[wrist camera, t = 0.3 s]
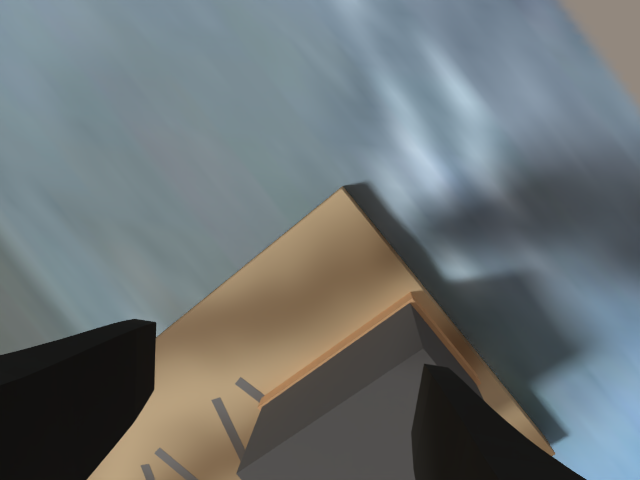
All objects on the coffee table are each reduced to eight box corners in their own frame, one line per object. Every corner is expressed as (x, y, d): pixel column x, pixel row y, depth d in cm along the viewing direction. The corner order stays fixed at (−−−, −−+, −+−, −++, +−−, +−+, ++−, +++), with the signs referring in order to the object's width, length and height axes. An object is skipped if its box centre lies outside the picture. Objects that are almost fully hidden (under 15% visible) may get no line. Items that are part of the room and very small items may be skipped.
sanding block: (476, 373, 20) (514, 450, 15) (325, 469, 21) (314, 564, 17) (410, 291, 19) (426, 342, 14) (261, 397, 21) (230, 474, 16)
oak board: (545, 437, 21) (555, 454, 20) (203, 632, 26) (195, 655, 25) (342, 185, 19) (341, 188, 18) (19, 448, 25) (2, 463, 23)
